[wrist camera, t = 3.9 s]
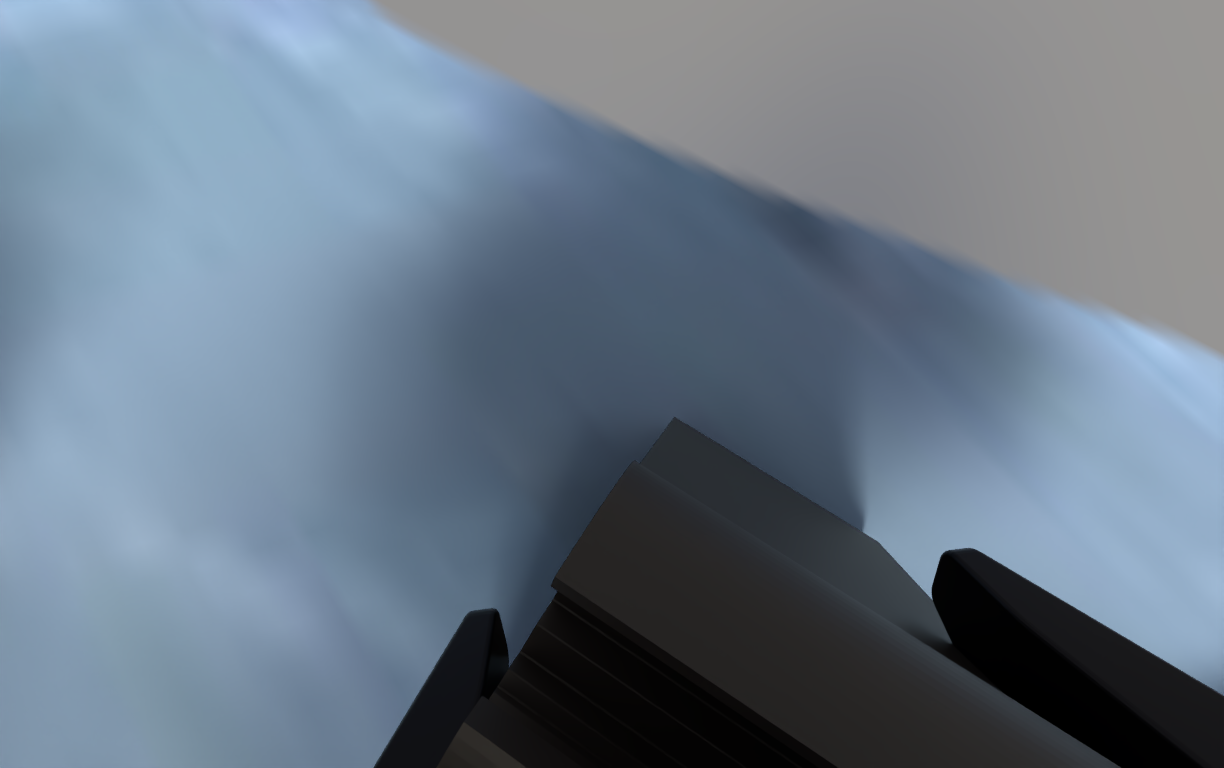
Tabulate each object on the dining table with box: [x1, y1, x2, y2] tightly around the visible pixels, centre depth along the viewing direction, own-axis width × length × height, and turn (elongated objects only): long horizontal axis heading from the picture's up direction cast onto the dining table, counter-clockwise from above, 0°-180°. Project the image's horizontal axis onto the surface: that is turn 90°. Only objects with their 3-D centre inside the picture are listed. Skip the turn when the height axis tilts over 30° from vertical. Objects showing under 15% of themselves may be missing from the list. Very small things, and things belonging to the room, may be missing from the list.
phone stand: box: [436, 417, 1121, 768], centre depth 9 cm, size 9×6×12 cm, turn 147°
